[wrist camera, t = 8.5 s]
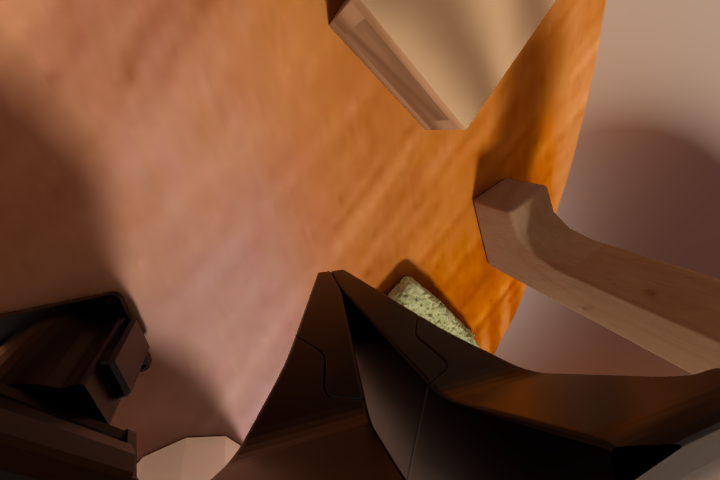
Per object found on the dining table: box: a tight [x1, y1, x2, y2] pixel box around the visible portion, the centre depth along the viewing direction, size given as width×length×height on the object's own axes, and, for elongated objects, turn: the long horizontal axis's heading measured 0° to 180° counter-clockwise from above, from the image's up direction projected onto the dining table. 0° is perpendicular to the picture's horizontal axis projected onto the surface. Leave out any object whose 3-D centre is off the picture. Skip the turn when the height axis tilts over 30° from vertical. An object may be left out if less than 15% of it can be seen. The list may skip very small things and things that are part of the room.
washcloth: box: [388, 276, 480, 348], centre depth 30 cm, size 13×18×3 cm
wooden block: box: [474, 179, 720, 374], centre depth 22 cm, size 9×4×18 cm, turn 26°
